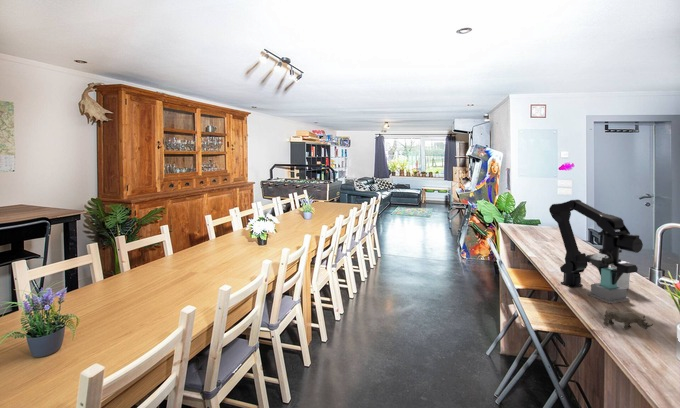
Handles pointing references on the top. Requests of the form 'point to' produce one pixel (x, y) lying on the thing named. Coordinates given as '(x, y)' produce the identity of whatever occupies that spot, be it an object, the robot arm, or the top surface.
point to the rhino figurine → (625, 318)
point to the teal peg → (607, 278)
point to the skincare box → (623, 278)
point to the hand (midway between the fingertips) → (608, 282)
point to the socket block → (608, 293)
